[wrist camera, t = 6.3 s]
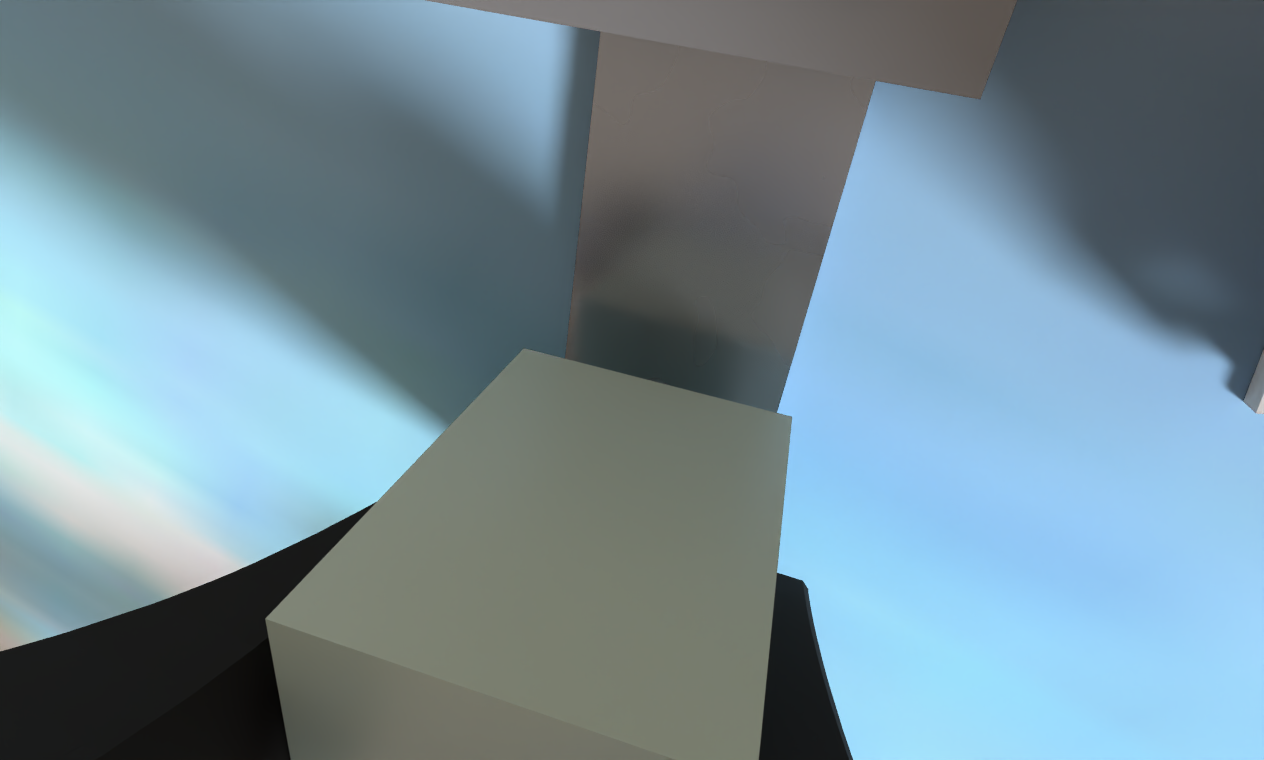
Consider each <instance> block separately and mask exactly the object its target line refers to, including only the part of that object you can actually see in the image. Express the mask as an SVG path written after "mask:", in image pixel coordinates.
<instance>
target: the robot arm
mask: <svg viewBox="0 0 1264 760" xmlns="http://www.w3.org/2000/svg"><path fill="white" fill-rule="evenodd" d="M374 504H375V503H374ZM374 504H372V505H370V506H368V507H366V508H364V509H363V510H361V511H359V512H357V513H355V514H353V515H351V516H349V517H347V518H345V519H344V520H342V521H340V522H338V523H336V524H334V525H332V526H330V527H328V528H326V529H324V530H322V531H320V532H319V533H317V534H315V535H312V536H310V537H308V538H306V539H304V540H302V541H300V542H298V543H296V544H293V545H291V546H289V547H287V548H285V549H283V550H281V551H279V552H277V553H274V554H272V555H270V556H268V557H266V558H264V559H262V560H260V561H258V562H255V563H253V564H251V565H249V566H247V567H244V568H242V569H240V570H237V571H235V572H233V573H230V574H228V575H226V576H223V577H221V578H218V579H216V580H214V581H211V582H209V583H206V584H204V585H201V586H198V587H196V588H193V589H191V590H188V591H186V592H183V593H180V594H178V595H175V596H173V597H170V598H168V599H165V600H162V601H159V602H157V603H154V604H151V605H148V606H145V607H142V608H139V609H136V610H133V611H130V612H127V613H124V614H121V615H118V616H115V617H112V618H109V619H106V620H103V621H100V622H97V623H94V624H91V625H88V626H85V627H82V628H79V629H76V630H73V631H70V632H67V633H63V634H60V635H57V636H53V637H50V638H46V639H43V640H39V641H36V642H32V643H29V644H26V645H22V646H19V647H15V648H12V649H8V650H4V651H0V760H291V758H290V753H289V747H288V742H287V736H286V731H285V725H284V719H283V714H282V708H281V703H280V697H279V692H278V686H277V681H276V675H275V670H274V664H273V659H272V653H271V648H270V642H269V637H268V631H267V626H266V620H265V619H266V618H267V617H268V615H269V614H270V613H271V612H272V611H273V610H274V609H275V608H276V607H277V606H278V605H279V604H280V603H281V602H282V601H283V600H284V599H285V598H286V597H287V596H288V595H289V593H290V592H291V591H292V590H293V589H294V588H295V587H296V586H297V585H298V584H299V583H300V582H301V581H302V580H303V579H304V578H305V577H306V576H307V575H308V574H309V573H310V571H311V570H312V569H313V568H314V567H315V566H316V565H317V564H318V563H319V562H320V561H321V560H322V559H323V558H324V557H325V556H326V555H327V554H328V553H329V552H330V551H331V549H332V548H333V547H334V546H335V545H336V544H337V543H338V542H339V541H340V540H341V539H342V538H343V537H344V536H345V535H346V534H347V533H348V532H349V531H350V530H351V529H352V528H353V526H354V525H355V524H356V523H357V522H358V521H359V520H360V519H361V518H362V517H363V516H364V515H365V514H366V513H367V512H368V511H369V510H370V509H371V508H372V507H373V506H374ZM759 760H853V758H852V755H851V753H850V750H849V747H848V744H847V741H846V738H845V735H844V732H843V729H842V726H841V722H840V719H839V716H838V713H837V709H836V706H835V703H834V699H833V696H832V693H831V690H830V686H829V683H828V679H827V676H826V672H825V669H824V665H823V661H822V657H821V653H820V649H819V645H818V641H817V636H816V632H815V627H814V623H813V618H812V613H811V607H810V601H809V594H808V588H807V587H806V585H805V584H804V582H803V581H802V580H799V579H795V578H792V577H789V576H786V575H783V574H779V573H777V577H776V587H775V597H774V608H773V618H772V628H771V638H770V649H769V659H768V669H767V680H766V690H765V700H764V710H763V721H762V731H761V741H760V751H759Z"/></svg>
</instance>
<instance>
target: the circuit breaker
mask: <svg viewBox="0 0 1264 760" xmlns="http://www.w3.org/2000/svg"><path fill="white" fill-rule="evenodd" d="M1243 402H1244V403H1245V404H1246V405H1247V406H1249V407H1250V408H1251V409H1252V410H1253V411H1254V412H1255V413H1257V414H1264V350H1263V352H1262V355H1261V357H1260V360H1259V362H1258V365H1257V368H1256V370H1255V373H1254V375H1253V378H1252V380H1251V383H1250V386H1249V388H1248V391H1247V393H1246V396H1245V398H1244V401H1243Z"/></svg>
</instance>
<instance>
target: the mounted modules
mask: <svg viewBox="0 0 1264 760" xmlns="http://www.w3.org/2000/svg"><path fill="white" fill-rule="evenodd" d="M427 1H432V2H438V3H444V4H449V5H455V6H460V7H466V8H472V9H477V10H483V11H488V12H494V13H499V14H505V15H511V16H516V17H522V18H527V19H533V20H539V21H544V22H550V23H555V24H561V25H567V26H572V27H578V28H583V29H589V30H595V31H600V32H606V33H611V34H617V35H623V36H628V37H634V38H639V39H645V40H651V41H656V42H662V43H667V44H673V45H679V46H684V47H690V48H695V49H701V50H707V51H712V52H718V53H723V54H729V55H735V56H740V57H746V58H751V59H757V60H763V61H768V62H774V63H779V64H785V65H791V66H796V67H802V68H807V69H813V70H818V71H824V72H830V73H835V74H841V75H846V76H852V77H858V78H863V79H869V80H874V81H880V82H886V83H891V84H897V85H902V86H908V87H914V88H919V89H925V90H930V91H936V92H942V93H947V94H953V95H958V96H964V97H970V98H975V99H980V98H981V96H982V93H983V90H984V88H985V85H986V82H987V80H988V77H989V74H990V72H991V69H992V66H993V63H994V61H995V58H996V55H997V53H998V50H999V47H1000V45H1001V42H1002V39H1003V37H1004V34H1005V31H1006V29H1007V26H1008V23H1009V21H1010V18H1011V15H1012V13H1013V10H1014V7H1015V5H1016V2H1017V0H427Z"/></svg>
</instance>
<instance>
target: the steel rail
mask: <svg viewBox="0 0 1264 760" xmlns="http://www.w3.org/2000/svg"><path fill="white" fill-rule="evenodd" d="M874 85H875V81H874V80H869V79H863V78H858V77H852V76H846V75H841V74H835V73H830V72H824V71H818V70H813V69H807V68H802V67H796V66H791V65H785V64H779V63H774V62H768V61H763V60H757V59H751V58H746V57H740V56H735V55H729V54H723V53H718V52H712V51H707V50H701V49H695V48H690V47H684V46H679V45H673V44H667V43H662V42H656V41H651V40H645V39H639V38H634V37H628V36H623V35H617V34H611V33H606V32H600V41H599V50H598V59H597V68H596V78H595V87H594V96H593V105H592V114H591V124H590V133H589V142H588V151H587V161H586V170H585V179H584V188H583V197H582V207H581V216H580V225H579V234H578V244H577V253H576V262H575V271H574V280H573V290H572V299H571V308H570V317H569V327H568V336H567V345H566V354H565V359H568V360H572V361H576V362H580V363H584V364H588V365H592V366H596V367H600V368H603V369H607V370H611V371H615V372H619V373H623V374H627V375H631V376H635V377H639V378H642V379H646V380H650V381H654V382H658V383H662V384H666V385H670V386H674V387H678V388H682V389H685V390H689V391H693V392H697V393H701V394H705V395H709V396H713V397H717V398H721V399H724V400H728V401H732V402H736V403H740V404H744V405H748V406H752V407H756V408H760V409H763V410H767V411H771V412H775V413H777V410H778V407H779V403H780V400H781V397H782V393H783V390H784V387H785V383H786V380H787V377H788V373H789V370H790V366H791V363H792V360H793V356H794V353H795V350H796V346H797V343H798V340H799V336H800V333H801V330H802V326H803V323H804V320H805V316H806V313H807V309H808V306H809V303H810V299H811V296H812V293H813V289H814V286H815V283H816V279H817V276H818V273H819V269H820V266H821V262H822V259H823V256H824V252H825V249H826V246H827V242H828V239H829V236H830V232H831V229H832V226H833V222H834V219H835V215H836V212H837V209H838V205H839V202H840V199H841V195H842V192H843V189H844V185H845V182H846V179H847V175H848V172H849V168H850V165H851V162H852V158H853V155H854V152H855V148H856V145H857V142H858V138H859V135H860V132H861V128H862V125H863V121H864V118H865V115H866V111H867V108H868V105H869V101H870V98H871V95H872V91H873V88H874Z"/></svg>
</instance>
